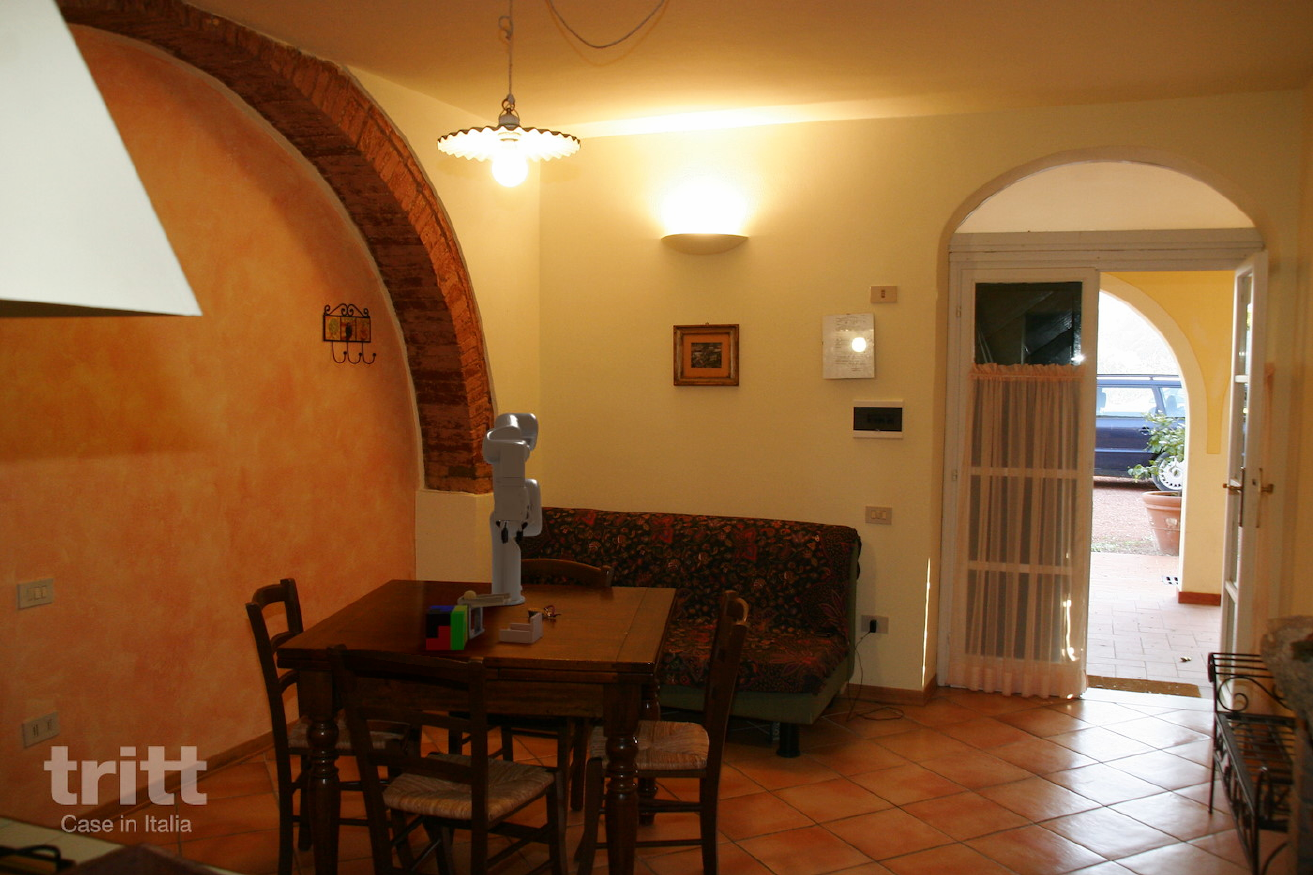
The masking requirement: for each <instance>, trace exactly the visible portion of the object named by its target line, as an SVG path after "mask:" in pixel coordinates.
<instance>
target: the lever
mask: <svg viewBox="0 0 1313 875" xmlns="http://www.w3.org/2000/svg"><path fill="white" fill-rule="evenodd" d="M510 601H511V593H510V592H508V593H496V594H492V593H485V594H484V593H483V594H476V598H475V599H464V595H463V596H461V597H459V598H458V599H457V604H456V605H453V606H463V604H464V603H469V604H471V611H473V610H474V609H475V608H476V607H482V608H483V607H493V606H494V607H495V606H505V605H504V604H506V603H508V602H510Z"/></svg>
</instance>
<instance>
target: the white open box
mask: <svg viewBox="0 0 1313 875" xmlns="http://www.w3.org/2000/svg"><path fill="white" fill-rule="evenodd" d="M543 628H544V625H543V612H537V613H536V614H534V615H533V616H531V617H530V619H529V623H518V622H510V623H509V627H508V628H507V629H503V628H502V629H499V642H505V643H506V642H507V643H520V644H522V643H523V644H532V645H533V644H534V643H535V642H536V641H538V640H540V639H541V638H542V637H543V636H544V634H543V632H544V629H543ZM540 637H541V638H540Z"/></svg>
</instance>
